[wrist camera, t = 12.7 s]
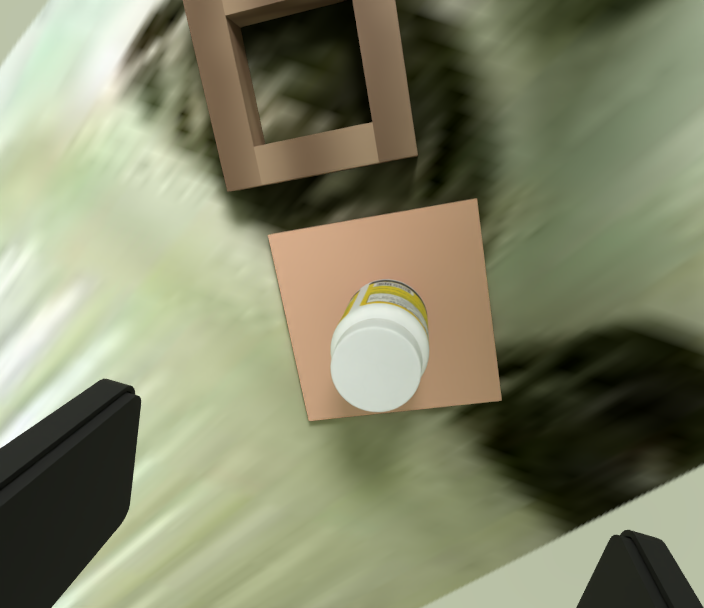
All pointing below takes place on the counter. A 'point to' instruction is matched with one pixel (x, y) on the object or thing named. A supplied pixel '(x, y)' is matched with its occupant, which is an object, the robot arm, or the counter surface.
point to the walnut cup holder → (313, 150)
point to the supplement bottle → (380, 346)
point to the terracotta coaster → (405, 266)
